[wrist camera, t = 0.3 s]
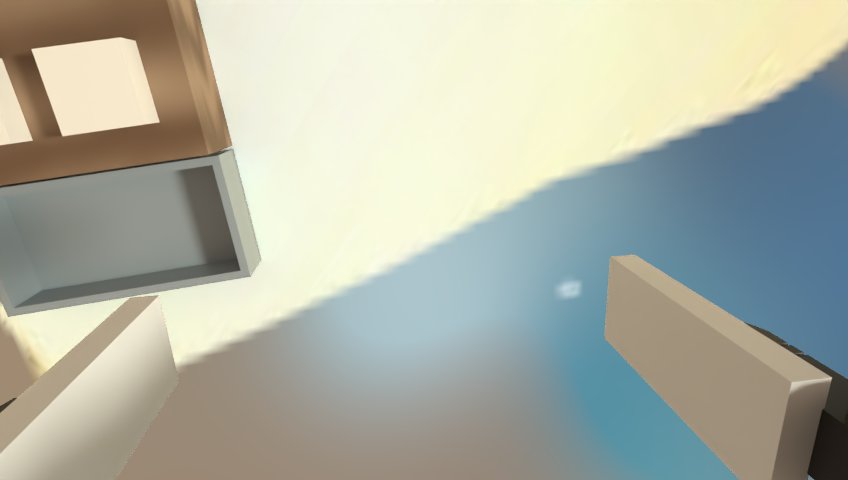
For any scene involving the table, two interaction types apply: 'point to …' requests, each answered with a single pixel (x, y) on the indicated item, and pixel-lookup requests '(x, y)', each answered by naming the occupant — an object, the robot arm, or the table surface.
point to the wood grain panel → (165, 71)
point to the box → (124, 233)
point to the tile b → (96, 85)
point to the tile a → (10, 113)
